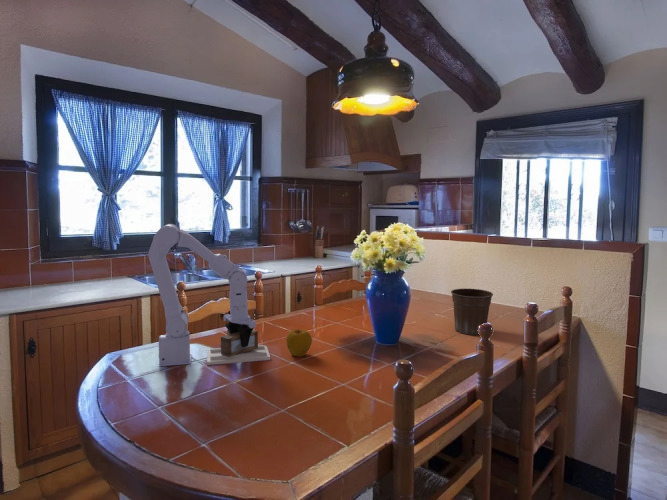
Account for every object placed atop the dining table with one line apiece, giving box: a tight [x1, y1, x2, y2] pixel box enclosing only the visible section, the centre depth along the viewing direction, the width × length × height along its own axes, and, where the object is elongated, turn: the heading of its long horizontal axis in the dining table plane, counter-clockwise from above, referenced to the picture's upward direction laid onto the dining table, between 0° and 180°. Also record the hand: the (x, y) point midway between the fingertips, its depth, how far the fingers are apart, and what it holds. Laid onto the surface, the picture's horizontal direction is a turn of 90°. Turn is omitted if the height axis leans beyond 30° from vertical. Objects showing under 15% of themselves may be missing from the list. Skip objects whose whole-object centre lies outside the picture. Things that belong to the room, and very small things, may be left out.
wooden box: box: [220, 329, 259, 357], centre depth 148 cm, size 12×4×6 cm, turn 139°
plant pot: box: [450, 288, 494, 336], centre depth 181 cm, size 16×16×16 cm
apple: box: [285, 328, 313, 358], centre depth 151 cm, size 8×8×9 cm
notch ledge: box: [206, 344, 271, 366], centre depth 149 cm, size 20×11×2 cm, turn 105°
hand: (240, 345), depth 148 cm, fingers open, 4 cm apart
